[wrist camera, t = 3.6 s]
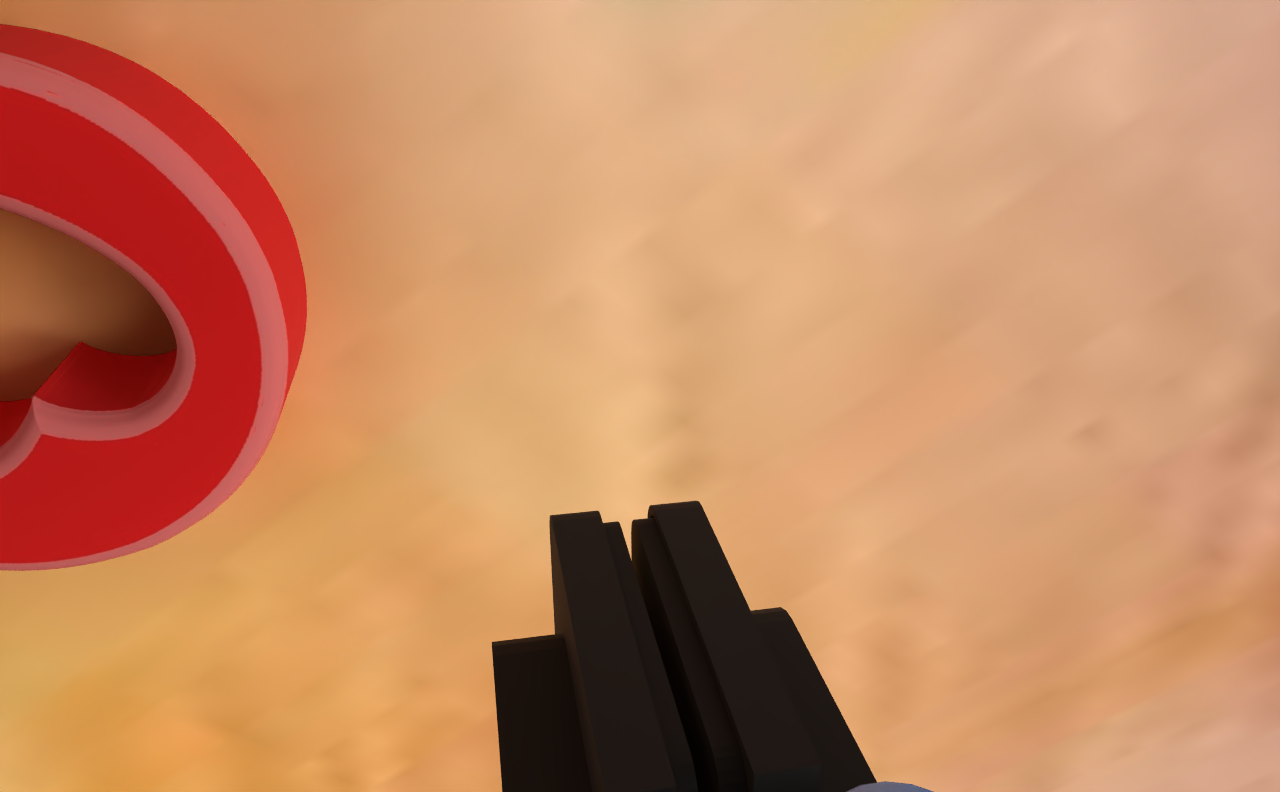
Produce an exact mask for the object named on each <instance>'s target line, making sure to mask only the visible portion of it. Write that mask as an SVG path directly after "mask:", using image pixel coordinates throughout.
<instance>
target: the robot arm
mask: <svg viewBox="0 0 1280 792" xmlns="http://www.w3.org/2000/svg"><path fill="white" fill-rule="evenodd" d="M631 543H632V561H631V558H630V555H629V551H628V548H627V545H626V542H625V538H624V535H623V532H622V529H621V526H620V523H619V522H609V523H603V522H602V519H601V515H600V513H599V511H590V512H580V513H570V514H560V515H550V544H551V564H552V584H553V603H554V623H555V635H547V636H538V637H530V638H522V639H513V640H505V641H497V642H492V652H493V666H494V680H495V694H496V708H497V722H498V736H499V749H500V763H501V777H502V791H503V792H933V791H930V790H927V789H924V788H921V787H918V786H915V785H912V784H904V783H895V782H878V783H877V781H876V779H875V778H874V776H873V774H872V772H871V770H870V768H869V766H868V764H867V762H866V760H865V758H864V756H863V755H862V753H861V751H860V749H859V747H858V745H857V743H856V741H855V739H854V737H853V735H852V733H851V731H850V730H849V728H848V726H847V724H846V722H845V720H844V718H843V716H842V714H841V712H840V710H839V708H838V707H837V705H836V703H835V701H834V699H833V697H832V695H831V693H830V691H829V689H828V687H827V685H826V684H825V682H824V680H823V678H822V676H821V674H820V672H819V670H818V668H817V666H816V664H815V662H814V660H813V659H812V657H811V655H810V653H809V651H808V649H807V647H806V645H805V643H804V641H803V639H802V637H801V636H800V634H799V632H798V630H797V628H796V626H795V624H794V622H793V620H792V619H791V617H790V616H789V614H788V613H787V611H786V610H784V609H783V608H781V607H779V608H770V609H762V610H754V611H750V609H749V606H748V604H747V602H746V600H745V598H744V596H743V594H742V591H741V589H740V587H739V585H738V583H737V581H736V579H735V576H734V574H733V572H732V570H731V568H730V566H729V563H728V561H727V559H726V557H725V555H724V553H723V551H722V548H721V546H720V544H719V542H718V540H717V538H716V536H715V533H714V531H713V529H712V527H711V525H710V523H709V521H708V518H707V516H706V514H705V512H704V510H703V508H702V506H701V504H700V502H699V501H689V502H679V503H669V504H659V505H650V507H649V510H648V519H638V520H633V521H632V530H631Z"/></svg>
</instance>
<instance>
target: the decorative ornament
mask: <svg viewBox="0 0 1280 792" xmlns="http://www.w3.org/2000/svg"><path fill="white" fill-rule="evenodd" d="M0 208H1V209H4V210H7V211H9V212H12V213H15V214H18V215H21V216H24V217H27V218H29V219H32V220H34V221H36V222H39V223H41V224H44V225H46V226H48V227H51V228H53V229H56V230H58V231H60V232H62V233H64V234H66V235H68V236H70V237H72V238H74V239H76V240H78V241H80V242H82V243H84V244H85V245H87V246H89V247H91V248H93V249H94V250H96V251H98V252H99V253H101V254H102V255H104V256H106V257H107V258H109V259H110V260H112V261H113V262H115V263H116V264H118V265H119V266H120V267H122V268H123V269H124V270H126V271H127V272H128V273H130V274H131V275H132V276H133V277H134V278H136V279H137V280H138V281H139V282H140V283H141V284H142V285H143V286H144V287H145V288H146V289H147V290H148V291H149V293H150V294H151V295H152V296H153V297H154V299H155V300H156V301H157V303H158V304H159V305H160V307H161V308H162V310H163V311H164V313H165V315H166V316H167V318H168V320H169V322H170V324H171V326H172V329H173V331H174V335H175V338H176V344H177V349H175V350H173V351H171V352H169V353H166V354H160V355H151V356H131V355H122V354H115V353H110V352H106V351H102V350H99V349H96V348H94V347H91V346H89V345H87V344H85V343H83V342H79V343H78V345H77V346H76V347H75V348H74V349H73V350H72V351H71V352H70V354H69V355H68V356H67V357H66V358H65V359H64V360H63V362H62V363H61V364H60V365H59V366H58V367H57V368H56V370H55V371H54V372H53V373H52V374H51V375H50V376H49V378H48V379H47V380H46V381H45V382H44V383H43V384H42V386H41V387H40V388H39V389H38V390H37V391H36V392H35V394H34V395H33V396H32V398H28V399H24V400H19V401H0V570H19V571H24V570H46V569H58V568H66V567H73V566H80V565H85V564H91V563H96V562H100V561H104V560H108V559H113V558H117V557H121V556H125V555H128V554H131V553H134V552H137V551H140V550H144V549H147V548H150V547H153V546H155V545H157V544H159V543H161V542H163V541H165V540H168V539H170V538H172V537H173V536H175V535H177V534H179V533H180V532H182V531H184V530H186V529H187V528H189V527H190V526H192V525H194V524H195V523H197V522H198V521H200V520H202V519H203V518H204V517H206V516H207V515H209V514H210V513H211V512H213V511H214V510H215V509H216V508H217V507H219V506H220V505H221V504H222V503H223V502H224V501H226V500H227V499H228V498H229V497H230V496H231V495H232V494H233V493H234V492H235V491H236V490H237V488H238V487H239V486H240V485H241V484H242V483H243V482H244V480H245V479H246V478H247V477H248V475H249V474H250V473H251V472H252V470H253V469H254V467H255V466H256V464H257V463H258V461H259V460H260V458H261V457H262V455H263V453H264V451H265V449H266V448H267V446H268V444H269V442H270V440H271V438H272V435H273V433H274V430H275V428H276V425H277V423H278V420H279V417H280V414H281V412H282V409H283V406H284V403H285V400H286V397H287V394H288V391H289V389H290V386H291V383H292V380H293V377H294V374H295V371H296V369H297V366H298V362H299V359H300V355H301V352H302V347H303V342H304V336H305V330H306V317H307V295H306V284H305V277H304V272H303V266H302V262H301V258H300V254H299V250H298V246H297V242H296V238H295V235H294V232H293V229H292V227H291V224H290V222H289V219H288V217H287V215H286V213H285V211H284V209H283V207H282V205H281V203H280V201H279V199H278V197H277V196H276V194H275V192H274V190H273V189H272V187H271V186H270V184H269V183H268V181H267V179H266V178H265V176H264V175H263V174H262V172H261V171H260V170H259V168H258V167H257V166H256V164H255V163H254V162H253V161H252V160H251V158H250V157H249V156H248V155H247V154H246V152H245V151H244V150H243V149H242V148H241V146H240V145H239V144H238V143H237V142H236V141H235V140H234V139H233V138H232V137H231V135H230V134H229V133H228V132H227V131H226V130H225V129H224V128H223V127H222V126H221V125H220V124H219V123H218V122H217V121H216V120H215V119H214V118H213V117H211V116H210V115H209V114H208V113H207V112H206V111H205V110H204V109H203V108H202V107H200V106H199V105H198V104H197V103H195V102H194V101H193V100H192V99H191V98H189V97H188V96H187V95H186V94H184V93H183V92H182V91H180V90H179V89H177V88H176V87H174V86H173V85H172V84H170V83H169V82H167V81H166V80H164V79H163V78H161V77H160V76H158V75H156V74H155V73H153V72H151V71H150V70H148V69H146V68H144V67H142V66H140V65H139V64H137V63H135V62H133V61H131V60H129V59H126V58H124V57H122V56H120V55H118V54H115V53H113V52H111V51H108V50H106V49H103V48H100V47H98V46H95V45H92V44H90V43H87V42H83V41H80V40H77V39H73V38H70V37H66V36H63V35H59V34H54V33H50V32H45V31H41V30H36V29H30V28H24V27H18V26H11V25H2V24H0Z"/></svg>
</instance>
